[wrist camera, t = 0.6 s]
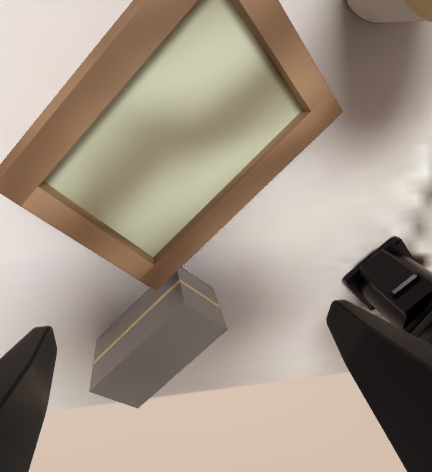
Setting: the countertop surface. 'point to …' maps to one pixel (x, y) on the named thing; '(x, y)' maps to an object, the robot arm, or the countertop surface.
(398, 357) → the robot arm
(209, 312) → the glasses case
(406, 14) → the coffee cup
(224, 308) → the countertop surface
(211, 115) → the wooden picture frame
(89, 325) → the countertop surface
